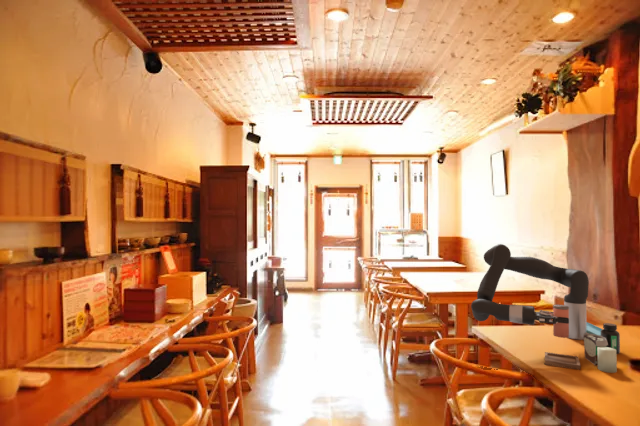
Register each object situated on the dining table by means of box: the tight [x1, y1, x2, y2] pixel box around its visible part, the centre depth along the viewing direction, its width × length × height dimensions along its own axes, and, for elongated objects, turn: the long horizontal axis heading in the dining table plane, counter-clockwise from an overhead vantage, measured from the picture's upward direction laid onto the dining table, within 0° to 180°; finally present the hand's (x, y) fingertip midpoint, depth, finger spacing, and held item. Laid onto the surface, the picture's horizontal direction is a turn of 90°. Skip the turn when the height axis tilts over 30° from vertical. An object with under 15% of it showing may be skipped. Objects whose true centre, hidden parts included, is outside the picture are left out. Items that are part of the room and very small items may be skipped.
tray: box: [544, 351, 581, 371], centre depth 165 cm, size 12×12×2 cm
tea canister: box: [552, 304, 569, 339], centre depth 166 cm, size 6×6×12 cm
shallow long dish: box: [586, 321, 604, 336], centre depth 212 cm, size 26×9×2 cm, turn 176°
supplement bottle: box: [601, 322, 621, 355], centre depth 179 cm, size 7×7×12 cm
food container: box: [583, 333, 608, 367], centre depth 166 cm, size 12×6×10 cm, turn 168°
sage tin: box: [597, 347, 618, 374], centre depth 157 cm, size 6×6×8 cm
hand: (568, 319), depth 165 cm, fingers closed on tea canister, 5 cm apart
